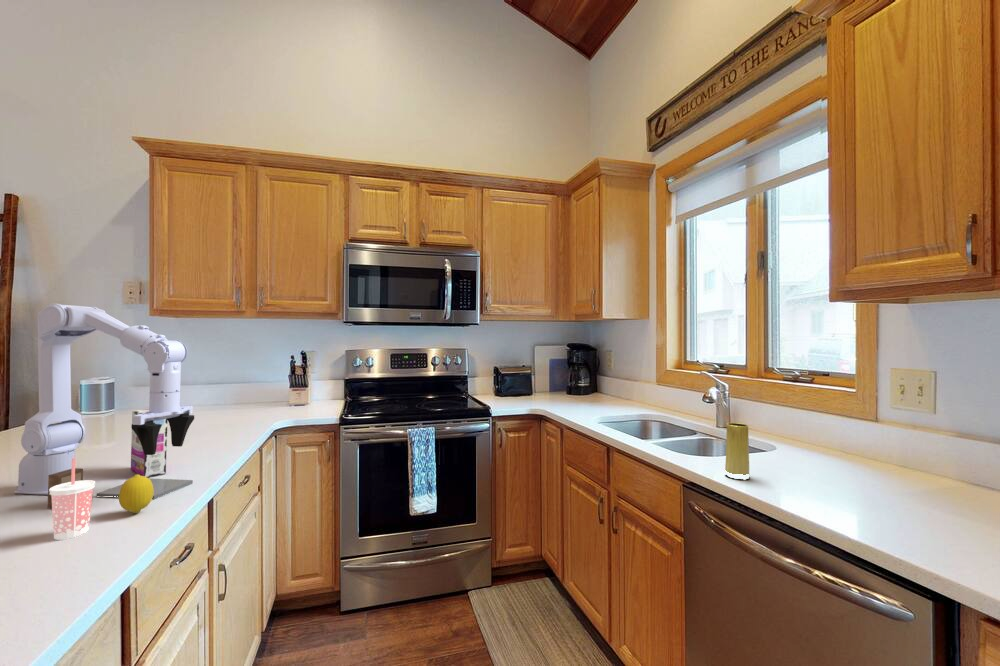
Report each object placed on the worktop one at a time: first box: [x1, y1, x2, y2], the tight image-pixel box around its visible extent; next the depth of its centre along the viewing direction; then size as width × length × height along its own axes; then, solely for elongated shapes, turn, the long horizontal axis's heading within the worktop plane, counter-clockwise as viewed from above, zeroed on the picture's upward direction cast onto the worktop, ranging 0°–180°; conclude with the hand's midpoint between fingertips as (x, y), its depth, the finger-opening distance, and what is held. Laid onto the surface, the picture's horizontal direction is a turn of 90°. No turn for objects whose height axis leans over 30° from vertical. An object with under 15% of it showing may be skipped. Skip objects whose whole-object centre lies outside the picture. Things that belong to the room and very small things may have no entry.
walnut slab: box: [47, 467, 84, 509], centre depth 95 cm, size 2×5×7 cm, turn 175°
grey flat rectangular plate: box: [96, 477, 194, 500], centre depth 104 cm, size 14×11×1 cm
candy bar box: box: [130, 408, 169, 478], centre depth 118 cm, size 11×5×16 cm, turn 55°
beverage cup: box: [49, 457, 96, 541], centre depth 81 cm, size 6×6×14 cm
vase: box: [724, 422, 750, 475], centre depth 119 cm, size 6×6×14 cm
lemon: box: [118, 474, 154, 514], centre depth 91 cm, size 6×6×8 cm
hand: (164, 450), depth 102 cm, fingers open, 7 cm apart
